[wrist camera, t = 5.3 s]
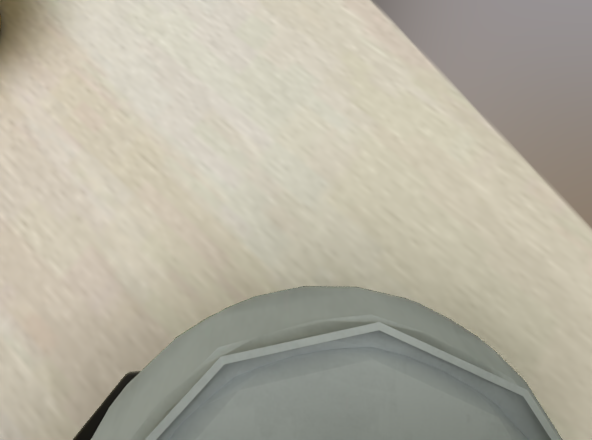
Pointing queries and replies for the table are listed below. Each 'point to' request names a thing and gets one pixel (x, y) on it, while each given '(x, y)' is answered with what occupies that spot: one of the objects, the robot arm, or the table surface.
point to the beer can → (327, 376)
